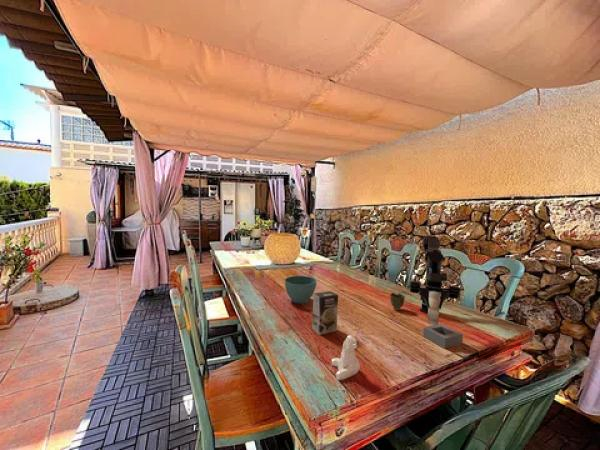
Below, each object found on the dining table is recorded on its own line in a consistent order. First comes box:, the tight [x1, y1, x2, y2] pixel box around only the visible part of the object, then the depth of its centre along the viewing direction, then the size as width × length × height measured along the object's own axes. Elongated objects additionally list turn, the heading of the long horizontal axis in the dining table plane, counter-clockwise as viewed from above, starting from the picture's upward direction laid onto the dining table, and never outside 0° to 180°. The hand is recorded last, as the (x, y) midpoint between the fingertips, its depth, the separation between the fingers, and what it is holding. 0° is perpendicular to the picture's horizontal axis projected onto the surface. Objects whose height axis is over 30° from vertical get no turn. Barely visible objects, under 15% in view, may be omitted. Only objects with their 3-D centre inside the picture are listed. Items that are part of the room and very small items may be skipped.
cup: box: [389, 292, 406, 311], centre depth 138 cm, size 8×7×8 cm
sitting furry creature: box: [331, 334, 361, 381], centre depth 84 cm, size 10×9×12 cm
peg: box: [426, 291, 441, 326], centre depth 106 cm, size 4×4×12 cm
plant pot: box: [284, 275, 317, 304], centre depth 148 cm, size 18×18×12 cm
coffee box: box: [311, 291, 339, 336], centre depth 112 cm, size 9×6×16 cm
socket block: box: [422, 323, 464, 349], centre depth 106 cm, size 10×10×4 cm
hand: (434, 308), depth 105 cm, fingers closed on peg, 4 cm apart
